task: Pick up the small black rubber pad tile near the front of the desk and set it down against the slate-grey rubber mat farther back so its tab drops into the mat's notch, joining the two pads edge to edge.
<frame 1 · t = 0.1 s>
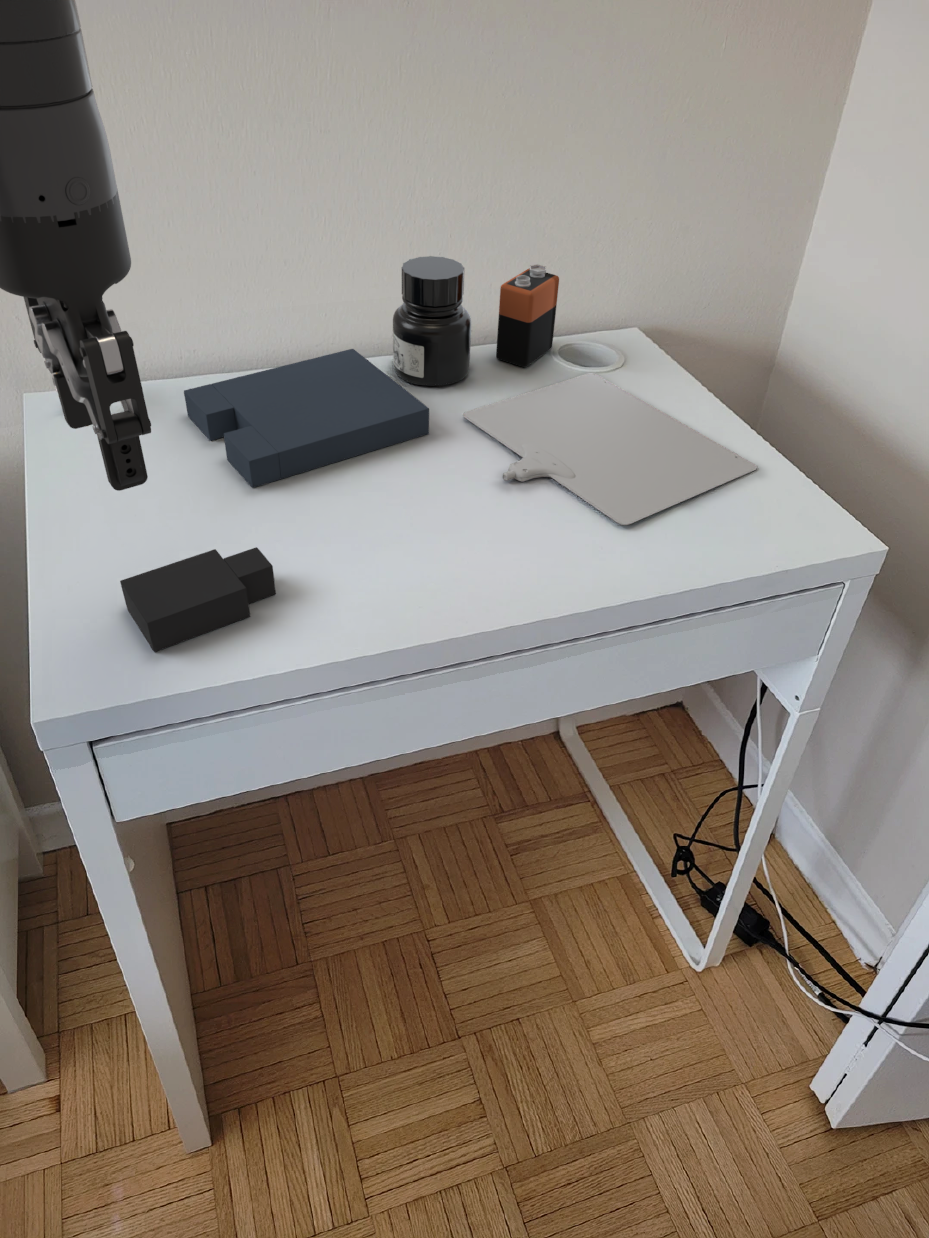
hand: (106, 453, 61), 18 cm above the table, tool pointing down, fingers open, 8 cm apart
battery: (523, 356, 114), on the table
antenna: (591, 449, 99), on the table
pad mat: (307, 425, 100), on the table
ring: (87, 404, 102), on the table
pad tile: (188, 613, 77), on the table
ink bottle: (431, 372, 110), on the table
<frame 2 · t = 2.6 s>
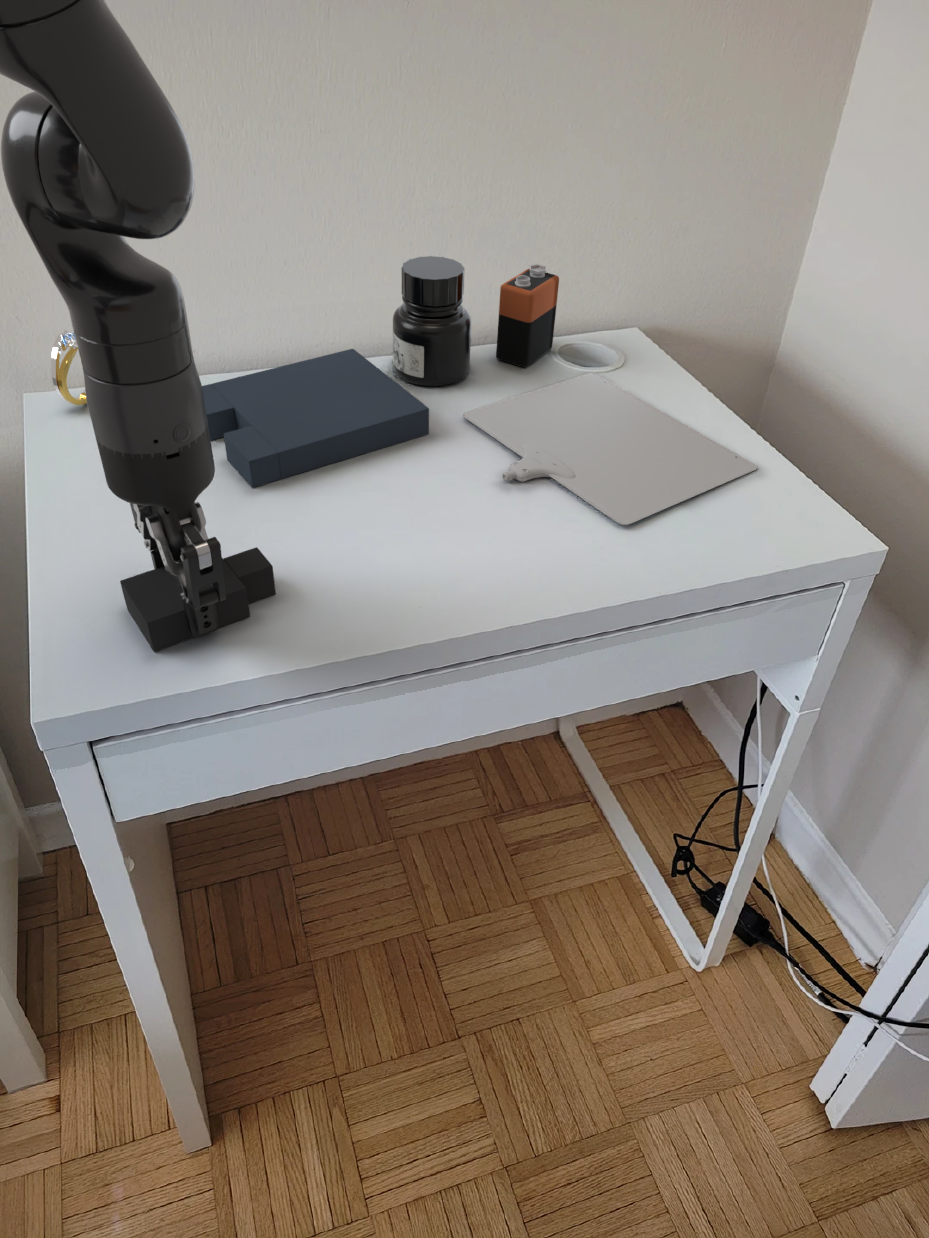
hand: (188, 607, 76), 1 cm above the table, tool pointing down, fingers closed on pad tile, 6 cm apart
pad tile: (188, 613, 77), on the table, touching gripper
everything else where it was.
when the fingers open (1 cm above the table, at t = 9.1 s): pad tile stays where it is, on the table.
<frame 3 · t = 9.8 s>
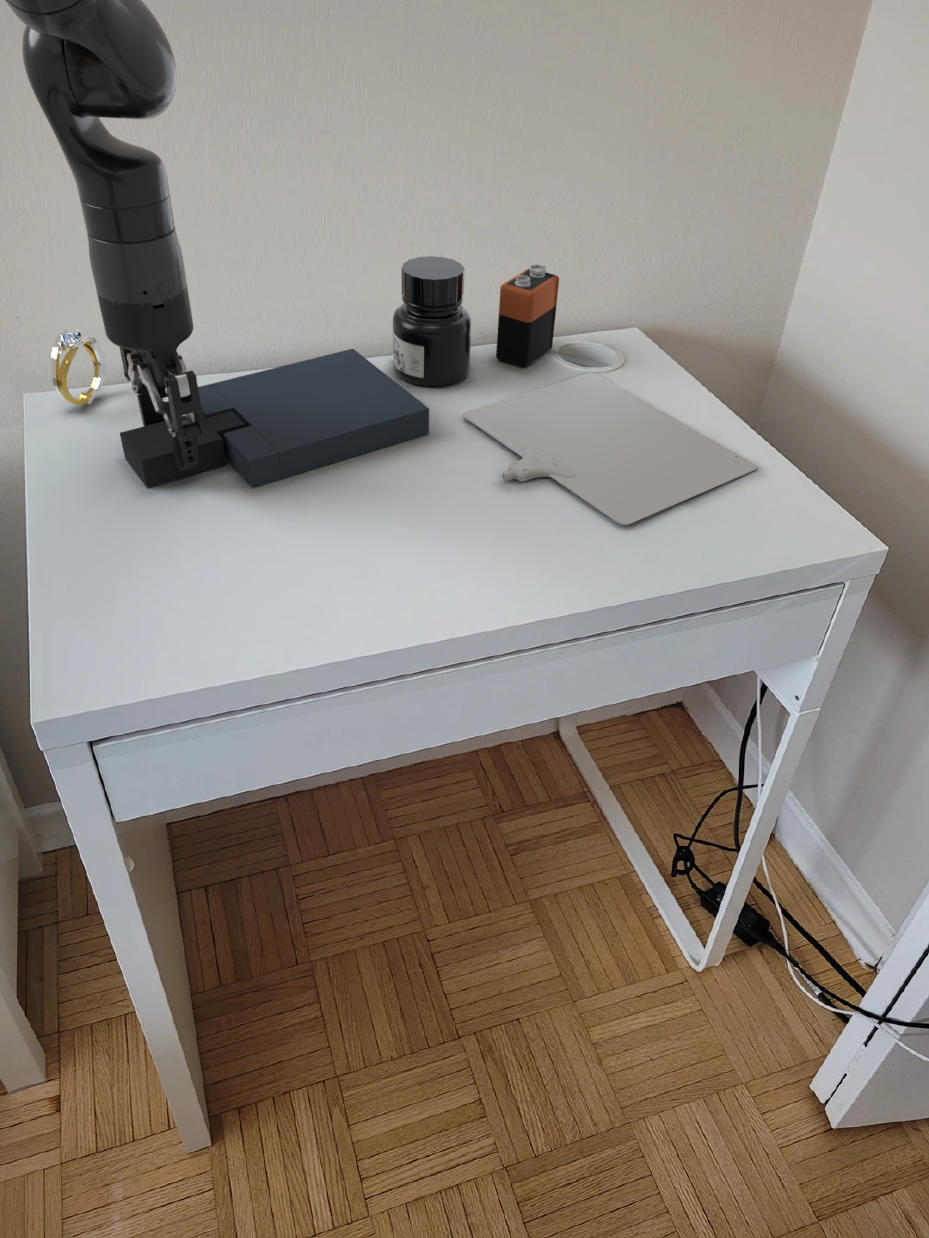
hand: (172, 447, 92), 2 cm above the table, tool pointing down, fingers open, 8 cm apart
pad tile: (175, 462, 93), on the table
everything else where it was.
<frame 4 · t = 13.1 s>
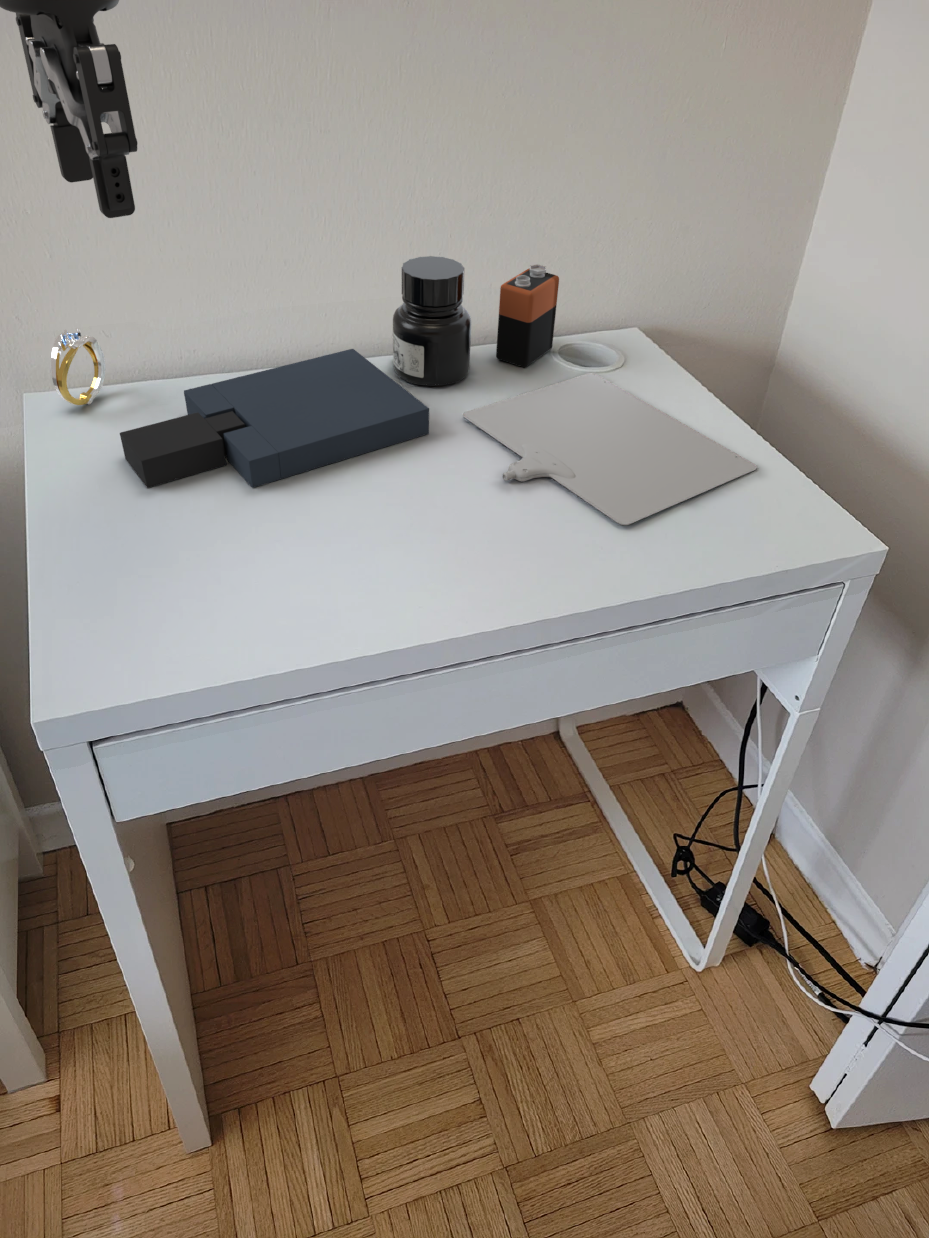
hand: (98, 197, 67), 28 cm above the table, tool pointing down, fingers open, 8 cm apart
nothing on the table moved.
at the end: pad tile 0.1 cm from the target spot on the table beside the pad mat, on the table; pad tile tilted 0° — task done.
